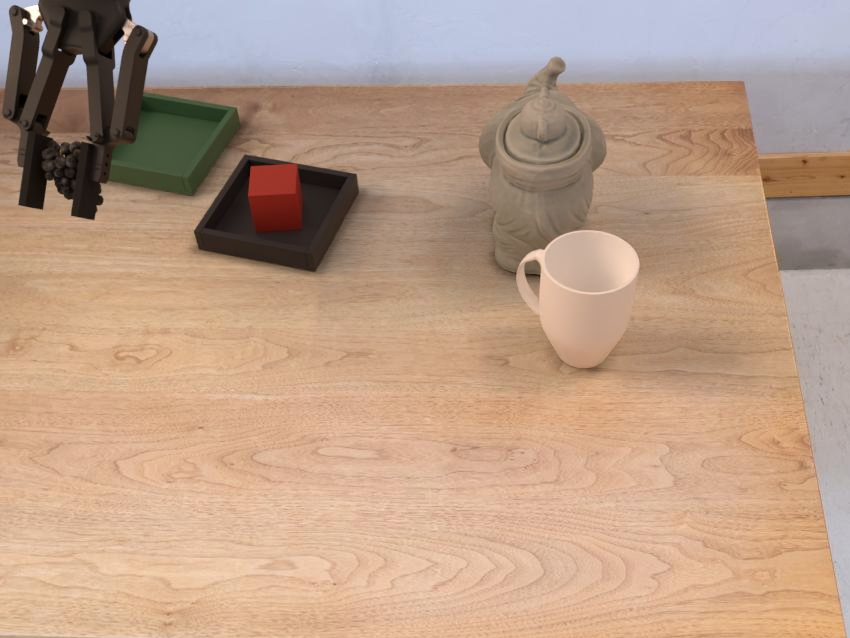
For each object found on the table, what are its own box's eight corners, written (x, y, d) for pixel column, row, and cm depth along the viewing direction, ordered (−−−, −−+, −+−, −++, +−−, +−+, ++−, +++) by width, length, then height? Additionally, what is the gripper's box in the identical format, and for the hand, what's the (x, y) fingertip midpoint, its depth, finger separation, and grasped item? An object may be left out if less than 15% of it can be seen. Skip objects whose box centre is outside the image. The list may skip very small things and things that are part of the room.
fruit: (62, 233, 104) (34, 163, 98) (62, 203, 107) (34, 133, 100) (112, 225, 104) (87, 154, 98) (111, 195, 107) (86, 125, 101)
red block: (255, 232, 122) (248, 195, 118) (258, 202, 125) (250, 166, 121) (301, 229, 122) (295, 193, 118) (302, 200, 125) (296, 163, 121)
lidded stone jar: (536, 168, 128) (543, 16, 113) (642, 226, 122) (664, 73, 107) (437, 240, 121) (430, 88, 106) (544, 306, 114) (552, 154, 100)
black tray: (198, 249, 121) (193, 231, 119) (248, 172, 129) (244, 153, 127) (315, 272, 118) (312, 253, 116) (359, 192, 126) (356, 173, 124)
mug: (642, 340, 111) (656, 248, 102) (600, 397, 107) (611, 307, 97) (539, 297, 115) (544, 205, 106) (495, 351, 111) (496, 260, 101)
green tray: (85, 176, 129) (79, 158, 127) (139, 108, 137) (133, 89, 135) (192, 196, 127) (188, 177, 125) (241, 125, 135) (237, 107, 132)
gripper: (205, -29, 99) (164, 234, 103) (31, -55, 103) (-4, 200, 106) (165, -57, 92) (123, 226, 95) (-21, -84, 96) (-56, 190, 99)
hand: (56, 212), depth 101 cm, fingers closed on fruit, 5 cm apart
